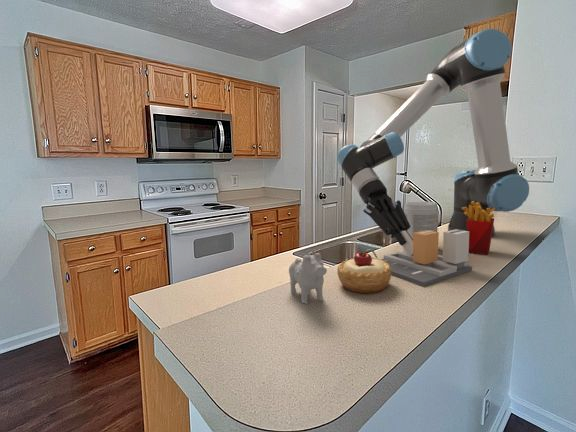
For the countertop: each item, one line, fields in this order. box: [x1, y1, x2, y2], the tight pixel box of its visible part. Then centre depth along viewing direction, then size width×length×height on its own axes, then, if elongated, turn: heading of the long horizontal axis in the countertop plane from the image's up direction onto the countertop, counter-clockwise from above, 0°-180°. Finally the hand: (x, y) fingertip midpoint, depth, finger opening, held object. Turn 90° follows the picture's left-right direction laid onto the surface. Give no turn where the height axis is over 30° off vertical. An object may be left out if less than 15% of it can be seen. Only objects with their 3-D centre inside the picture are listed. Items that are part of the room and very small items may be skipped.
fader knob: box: [413, 230, 440, 267], centre depth 81 cm, size 5×4×9 cm
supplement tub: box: [404, 201, 439, 239], centre depth 101 cm, size 10×10×15 cm
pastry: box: [337, 248, 392, 294], centre depth 74 cm, size 12×12×9 cm
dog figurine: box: [288, 252, 328, 305], centre depth 68 cm, size 5×13×11 cm, turn 22°
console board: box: [380, 229, 473, 287], centre depth 83 cm, size 18×18×10 cm
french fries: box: [462, 201, 495, 256], centre depth 95 cm, size 9×8×15 cm
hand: (414, 253), depth 84 cm, fingers closed
